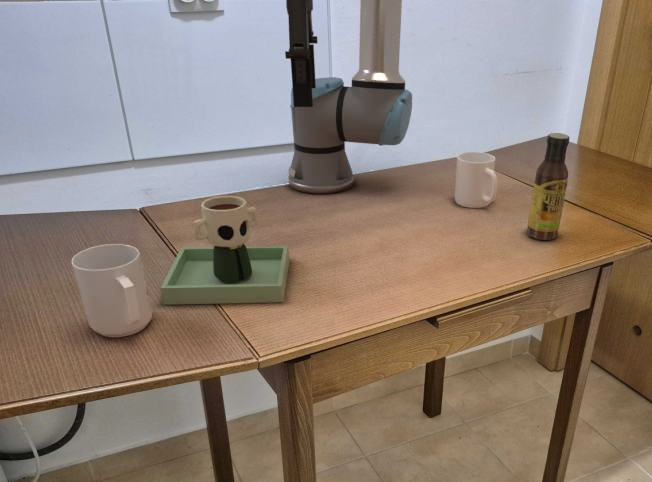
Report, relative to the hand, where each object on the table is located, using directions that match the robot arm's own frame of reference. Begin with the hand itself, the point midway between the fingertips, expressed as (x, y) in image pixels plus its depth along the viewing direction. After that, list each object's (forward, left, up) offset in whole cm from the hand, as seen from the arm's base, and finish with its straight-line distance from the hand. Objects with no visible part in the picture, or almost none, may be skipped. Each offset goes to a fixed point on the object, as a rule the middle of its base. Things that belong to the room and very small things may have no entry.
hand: (305, 96), depth 100 cm
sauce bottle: (-12, +45, -29) cm, 55 cm away
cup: (-30, +35, -29) cm, 54 cm away
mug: (+21, -27, -29) cm, 45 cm away
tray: (+6, -14, -29) cm, 32 cm away
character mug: (+6, -13, -28) cm, 32 cm away
